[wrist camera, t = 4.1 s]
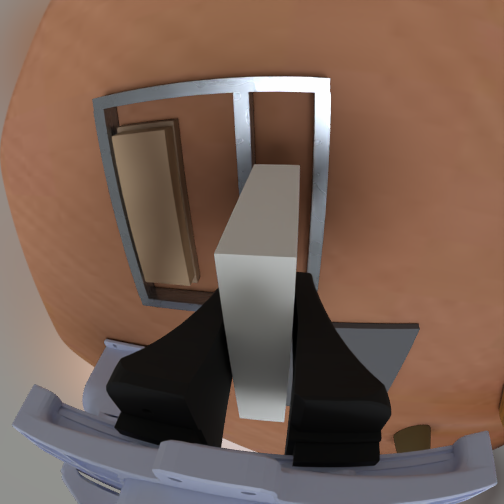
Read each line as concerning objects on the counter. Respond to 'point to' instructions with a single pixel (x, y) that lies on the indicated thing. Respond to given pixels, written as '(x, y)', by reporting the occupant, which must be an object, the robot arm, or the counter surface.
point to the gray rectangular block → (261, 288)
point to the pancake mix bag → (502, 409)
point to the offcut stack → (157, 200)
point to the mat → (374, 348)
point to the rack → (245, 161)
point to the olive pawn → (413, 439)
